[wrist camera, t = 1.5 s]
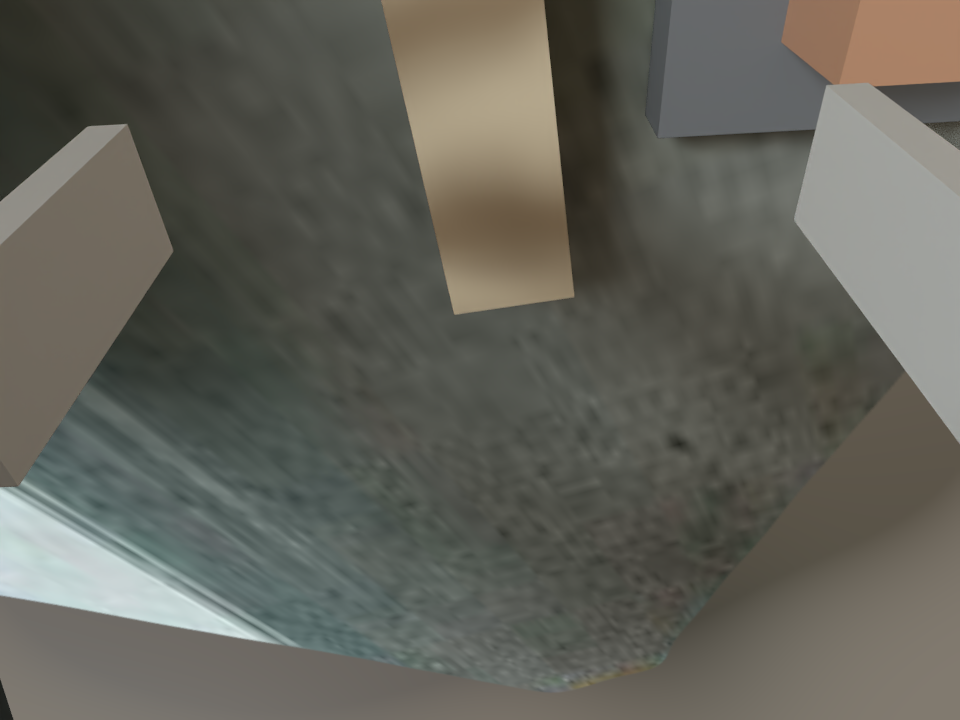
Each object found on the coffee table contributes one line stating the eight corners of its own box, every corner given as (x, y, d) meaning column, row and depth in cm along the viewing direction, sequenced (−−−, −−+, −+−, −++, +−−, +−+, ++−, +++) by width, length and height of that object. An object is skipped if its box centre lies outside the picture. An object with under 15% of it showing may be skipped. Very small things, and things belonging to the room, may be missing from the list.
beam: (562, 237, 33) (574, 297, 29) (455, 253, 34) (454, 314, 30) (485, -465, 20) (489, -528, 16) (310, -421, 20) (271, -473, 16)
